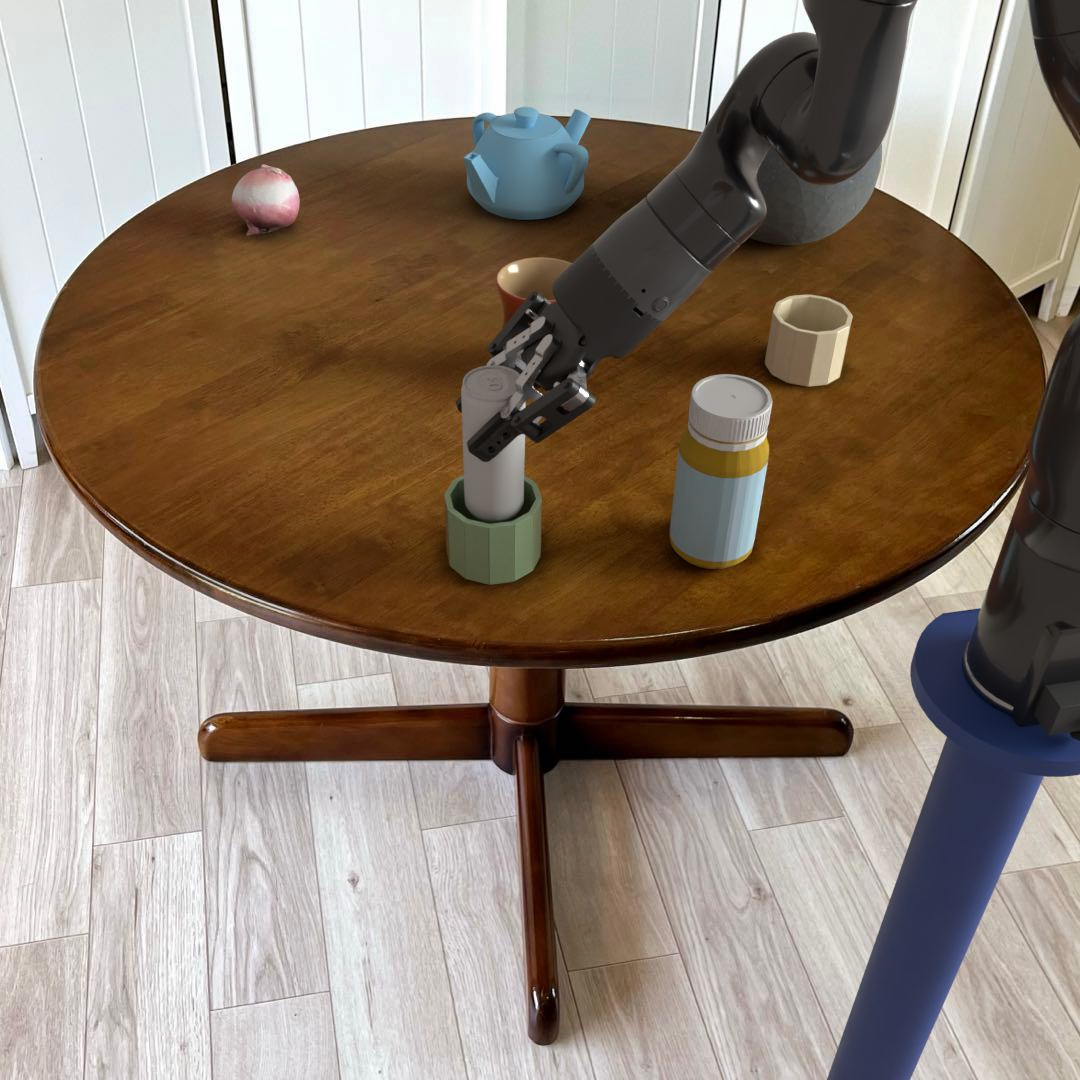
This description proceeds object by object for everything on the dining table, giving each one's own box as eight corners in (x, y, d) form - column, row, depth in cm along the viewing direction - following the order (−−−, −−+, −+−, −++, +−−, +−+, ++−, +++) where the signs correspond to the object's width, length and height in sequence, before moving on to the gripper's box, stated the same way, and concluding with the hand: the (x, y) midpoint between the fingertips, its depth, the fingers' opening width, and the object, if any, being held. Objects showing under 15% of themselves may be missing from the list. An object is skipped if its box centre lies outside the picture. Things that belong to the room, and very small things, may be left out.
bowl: (901, 240, 147) (929, 116, 137) (779, 289, 137) (800, 160, 128) (778, 181, 159) (796, 63, 149) (659, 222, 150) (669, 99, 140)
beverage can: (518, 485, 102) (518, 361, 94) (530, 522, 98) (531, 395, 90) (460, 492, 101) (455, 367, 93) (470, 529, 97) (466, 403, 89)
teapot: (608, 222, 149) (613, 131, 142) (465, 229, 147) (463, 138, 140) (587, 170, 161) (590, 83, 154) (454, 176, 159) (451, 89, 152)
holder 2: (852, 382, 123) (864, 329, 119) (780, 389, 122) (790, 336, 118) (824, 343, 129) (834, 291, 125) (755, 349, 128) (763, 298, 124)
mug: (513, 401, 119) (513, 307, 113) (484, 356, 126) (483, 264, 119) (626, 379, 123) (633, 287, 116) (593, 336, 129) (598, 246, 122)
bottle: (767, 563, 102) (794, 412, 92) (690, 581, 100) (710, 429, 90) (729, 512, 107) (751, 364, 97) (655, 528, 105) (670, 379, 95)
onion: (316, 227, 147) (310, 169, 142) (265, 249, 142) (257, 191, 138) (272, 207, 151) (264, 150, 146) (221, 228, 146) (212, 170, 142)
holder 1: (547, 577, 100) (549, 520, 96) (455, 589, 99) (452, 531, 95) (529, 519, 106) (530, 463, 102) (441, 529, 104) (439, 473, 101)
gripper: (575, 202, 91) (421, 357, 97) (623, 298, 81) (447, 465, 87) (639, 261, 96) (488, 406, 102) (693, 360, 85) (521, 514, 91)
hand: (470, 432), depth 94 cm, fingers closed on beverage can, 5 cm apart
